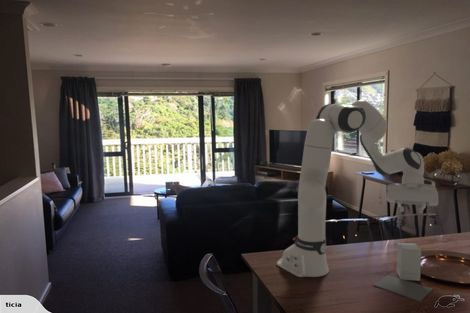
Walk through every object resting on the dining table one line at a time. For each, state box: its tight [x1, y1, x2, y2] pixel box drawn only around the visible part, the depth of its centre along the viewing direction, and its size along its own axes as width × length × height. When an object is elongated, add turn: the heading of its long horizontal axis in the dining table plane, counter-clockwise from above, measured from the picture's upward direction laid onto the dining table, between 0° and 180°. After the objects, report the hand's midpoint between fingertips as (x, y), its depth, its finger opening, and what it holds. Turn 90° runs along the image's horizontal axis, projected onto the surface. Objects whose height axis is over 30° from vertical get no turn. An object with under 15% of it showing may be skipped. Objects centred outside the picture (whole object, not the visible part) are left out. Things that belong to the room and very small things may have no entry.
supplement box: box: [396, 242, 422, 282], centre depth 144 cm, size 7×7×13 cm
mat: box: [373, 274, 434, 303], centre depth 136 cm, size 17×12×1 cm
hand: (411, 211), depth 153 cm, fingers open, 6 cm apart
